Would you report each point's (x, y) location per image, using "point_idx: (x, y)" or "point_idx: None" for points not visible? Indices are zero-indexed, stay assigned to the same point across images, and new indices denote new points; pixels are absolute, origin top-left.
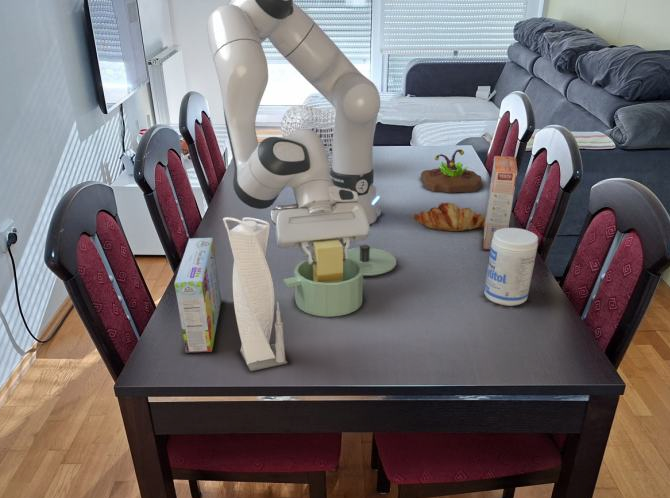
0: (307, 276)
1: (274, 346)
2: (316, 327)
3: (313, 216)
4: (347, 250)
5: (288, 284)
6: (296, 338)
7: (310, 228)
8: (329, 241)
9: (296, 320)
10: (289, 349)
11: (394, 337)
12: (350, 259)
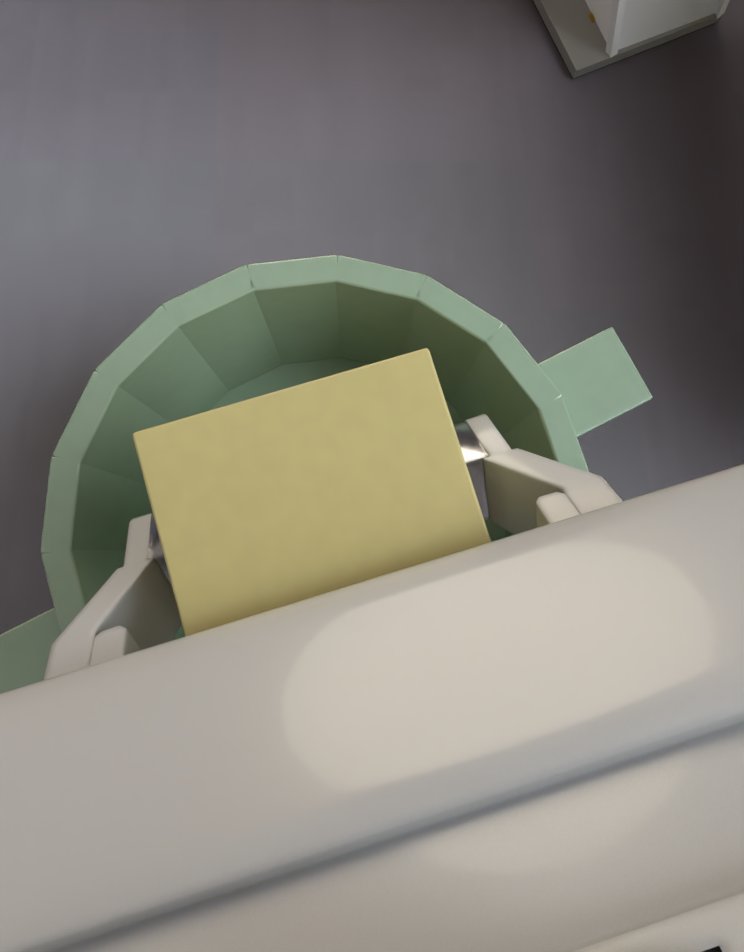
0: None
1: (576, 44)
2: (391, 238)
3: (593, 918)
4: None
5: (606, 331)
6: (481, 138)
7: (578, 647)
8: (294, 575)
9: (497, 306)
10: (504, 47)
11: (8, 146)
12: None
